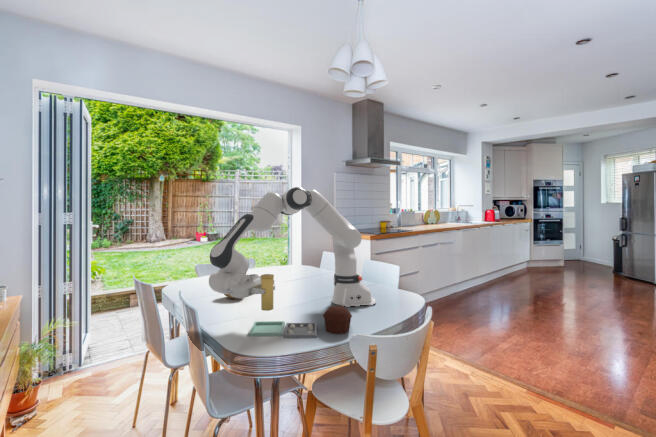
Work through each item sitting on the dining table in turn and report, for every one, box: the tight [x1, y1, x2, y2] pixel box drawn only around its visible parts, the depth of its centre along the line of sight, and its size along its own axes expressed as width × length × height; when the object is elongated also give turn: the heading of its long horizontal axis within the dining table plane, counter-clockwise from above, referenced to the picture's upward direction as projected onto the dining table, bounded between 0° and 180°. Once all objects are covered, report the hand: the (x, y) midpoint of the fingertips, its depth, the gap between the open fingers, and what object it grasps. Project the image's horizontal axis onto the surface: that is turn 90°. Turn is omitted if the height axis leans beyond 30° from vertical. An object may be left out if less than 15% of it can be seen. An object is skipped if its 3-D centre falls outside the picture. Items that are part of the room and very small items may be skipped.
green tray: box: [248, 320, 286, 337], centre depth 125 cm, size 12×12×2 cm
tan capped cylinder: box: [260, 273, 275, 312], centre depth 125 cm, size 5×5×13 cm
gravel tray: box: [283, 322, 318, 339], centre depth 124 cm, size 12×12×2 cm
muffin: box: [322, 304, 353, 335], centre depth 125 cm, size 12×11×10 cm
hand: (269, 289), depth 124 cm, fingers closed on tan capped cylinder, 5 cm apart
